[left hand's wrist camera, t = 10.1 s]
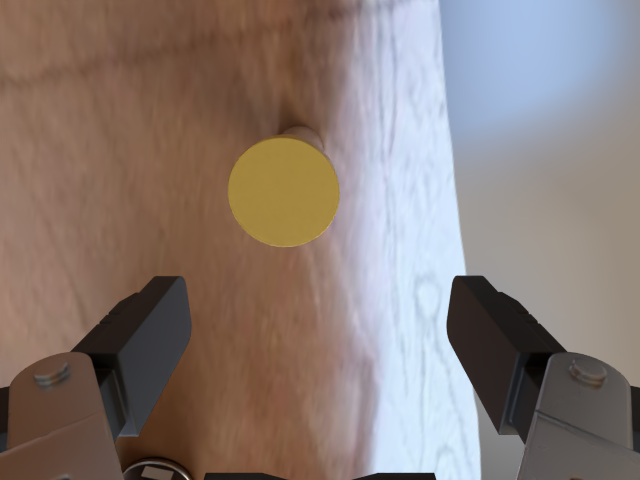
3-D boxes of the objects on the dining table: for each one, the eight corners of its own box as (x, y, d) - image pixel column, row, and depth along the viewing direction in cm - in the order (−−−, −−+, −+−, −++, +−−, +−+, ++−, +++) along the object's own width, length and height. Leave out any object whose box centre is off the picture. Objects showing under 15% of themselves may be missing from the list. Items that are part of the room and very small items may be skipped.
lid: (291, 110, 18) (288, 111, 16) (358, 193, 20) (362, 201, 18) (214, 180, 19) (204, 188, 18) (282, 253, 21) (279, 266, 19)
